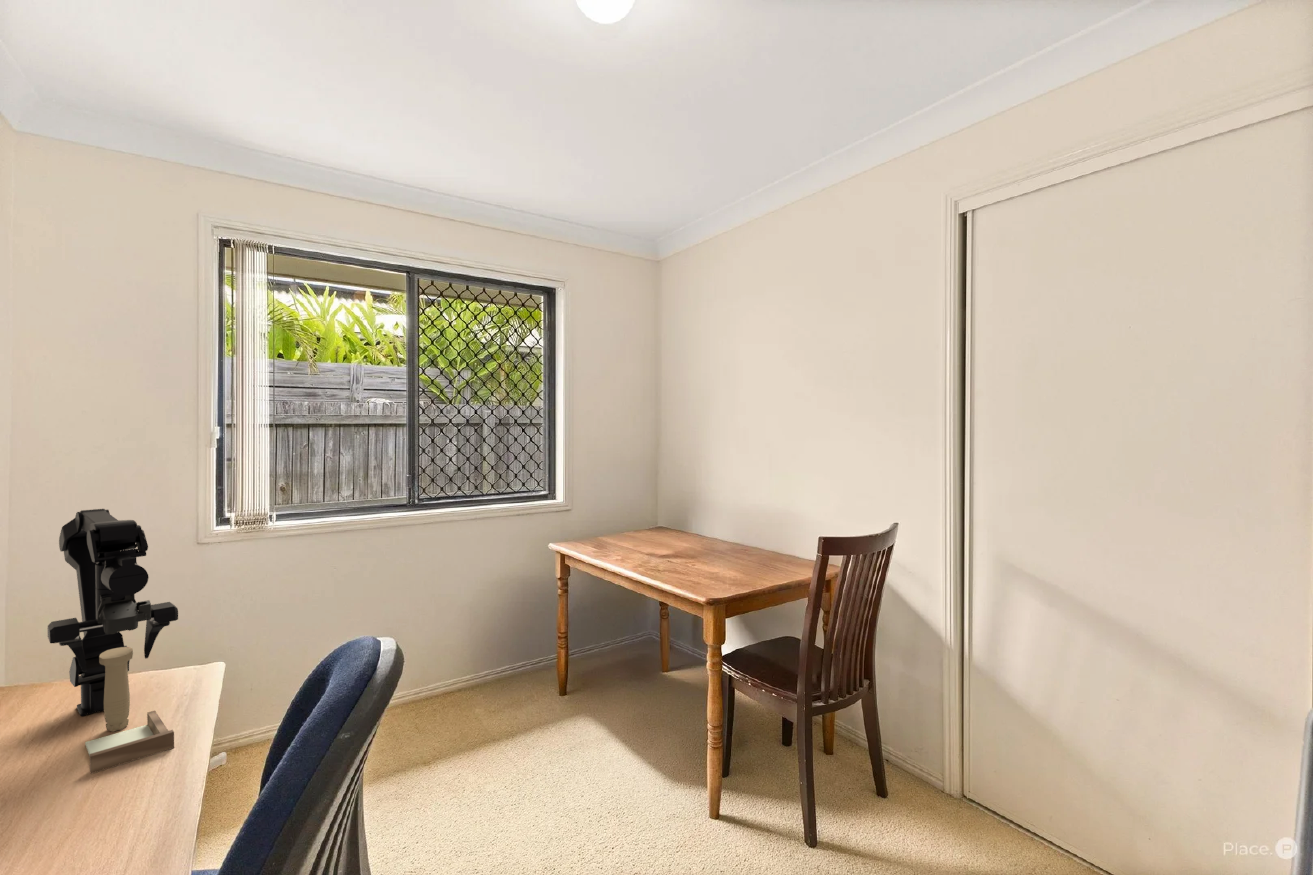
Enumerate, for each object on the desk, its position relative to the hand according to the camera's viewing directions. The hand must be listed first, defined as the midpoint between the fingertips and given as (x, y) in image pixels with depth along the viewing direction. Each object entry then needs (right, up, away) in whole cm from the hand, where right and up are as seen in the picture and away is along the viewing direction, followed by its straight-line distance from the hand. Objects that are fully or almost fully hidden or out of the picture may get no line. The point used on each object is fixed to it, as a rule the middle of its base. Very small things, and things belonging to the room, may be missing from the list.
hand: (116, 664), depth 120 cm
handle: (0, -13, 0) cm, 13 cm away
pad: (+7, -13, -7) cm, 16 cm away
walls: (+7, -13, -7) cm, 16 cm away
